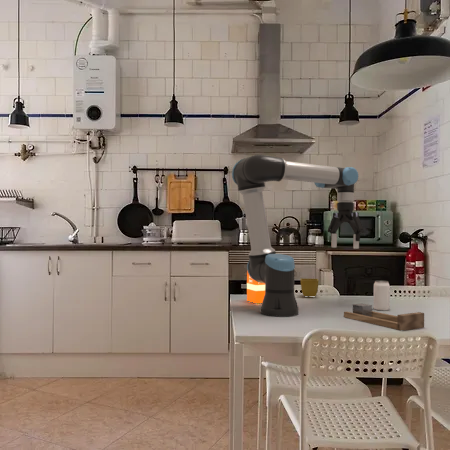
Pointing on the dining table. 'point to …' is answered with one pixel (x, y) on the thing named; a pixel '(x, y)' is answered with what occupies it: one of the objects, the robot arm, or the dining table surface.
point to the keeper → (362, 309)
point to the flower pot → (309, 286)
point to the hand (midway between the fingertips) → (344, 248)
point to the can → (381, 295)
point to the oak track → (391, 320)
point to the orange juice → (255, 290)
